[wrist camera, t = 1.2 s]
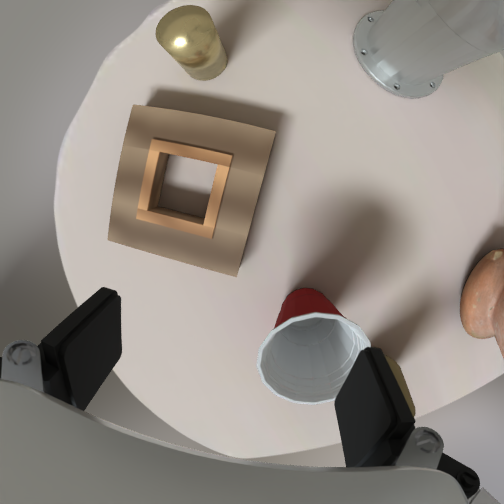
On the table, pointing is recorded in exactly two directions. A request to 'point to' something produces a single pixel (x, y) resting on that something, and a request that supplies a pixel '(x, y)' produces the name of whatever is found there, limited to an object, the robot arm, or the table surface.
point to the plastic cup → (309, 349)
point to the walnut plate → (222, 194)
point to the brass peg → (192, 41)
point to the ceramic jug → (485, 299)
